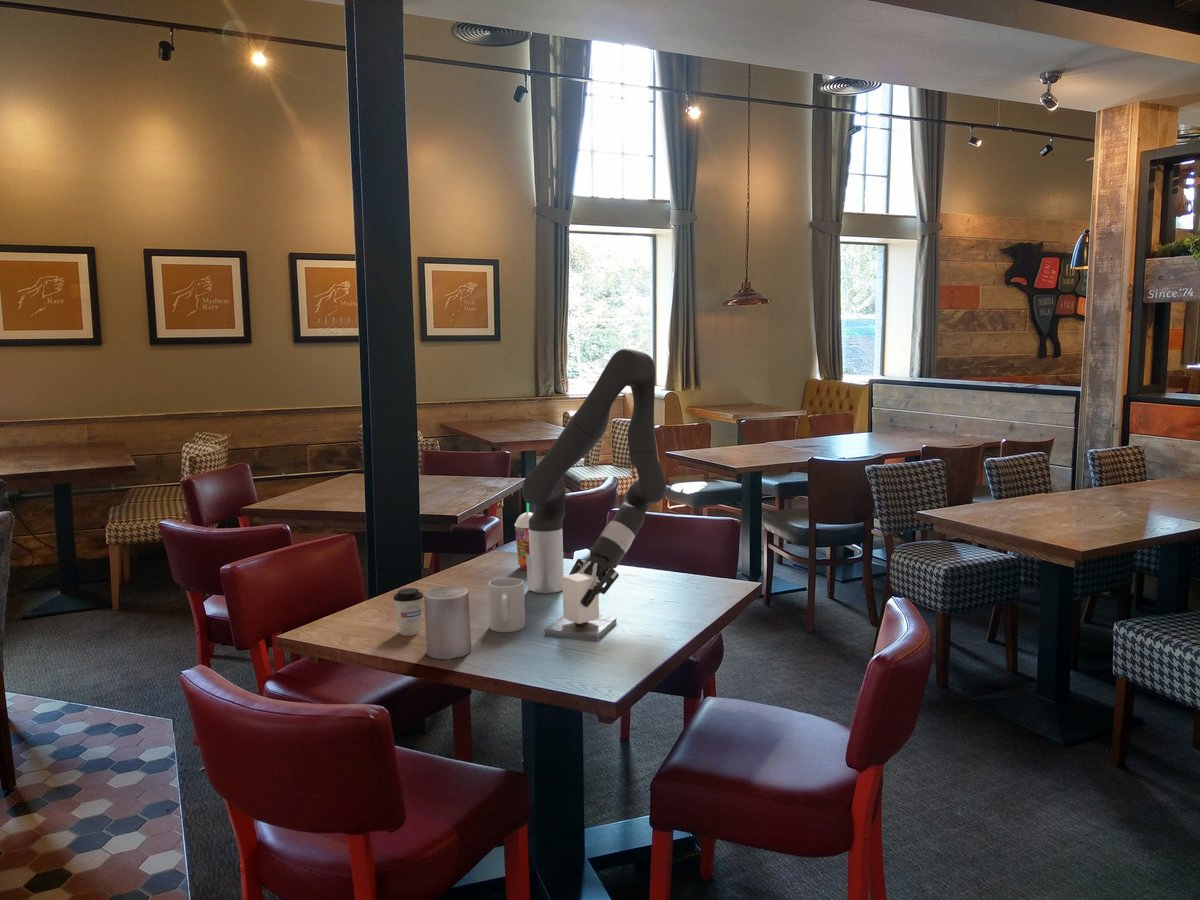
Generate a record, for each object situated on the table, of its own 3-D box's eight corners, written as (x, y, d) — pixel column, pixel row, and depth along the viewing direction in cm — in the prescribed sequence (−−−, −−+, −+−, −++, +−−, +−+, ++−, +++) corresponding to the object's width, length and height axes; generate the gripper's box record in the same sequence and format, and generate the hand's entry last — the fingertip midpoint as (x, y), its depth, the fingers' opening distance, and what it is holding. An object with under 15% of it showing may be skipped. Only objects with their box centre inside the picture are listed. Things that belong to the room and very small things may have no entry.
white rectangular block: (563, 618, 198) (562, 576, 197) (583, 612, 202) (582, 572, 201) (578, 623, 193) (577, 581, 192) (599, 618, 197) (598, 576, 196)
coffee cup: (393, 629, 200) (391, 588, 199) (422, 625, 203) (420, 585, 202) (396, 638, 194) (394, 596, 193) (427, 634, 196) (425, 593, 195)
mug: (491, 621, 205) (489, 577, 204) (526, 620, 205) (524, 576, 204) (486, 638, 193) (484, 591, 192) (523, 637, 193) (522, 590, 192)
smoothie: (510, 568, 256) (508, 504, 254) (530, 563, 262) (528, 500, 260) (528, 572, 251) (526, 506, 248) (549, 567, 257) (547, 503, 254)
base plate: (544, 635, 194) (543, 601, 193) (566, 618, 206) (565, 586, 205) (596, 641, 189) (596, 606, 189) (616, 623, 202) (615, 591, 201)
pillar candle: (439, 643, 190) (436, 578, 189) (479, 646, 188) (475, 581, 186) (418, 658, 181) (414, 591, 179) (459, 662, 178) (456, 593, 177)
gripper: (585, 530, 206) (547, 587, 200) (623, 539, 195) (584, 599, 188) (602, 548, 210) (565, 604, 203) (641, 558, 198) (603, 617, 192)
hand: (575, 601), depth 196 cm, fingers closed on white rectangular block, 6 cm apart
